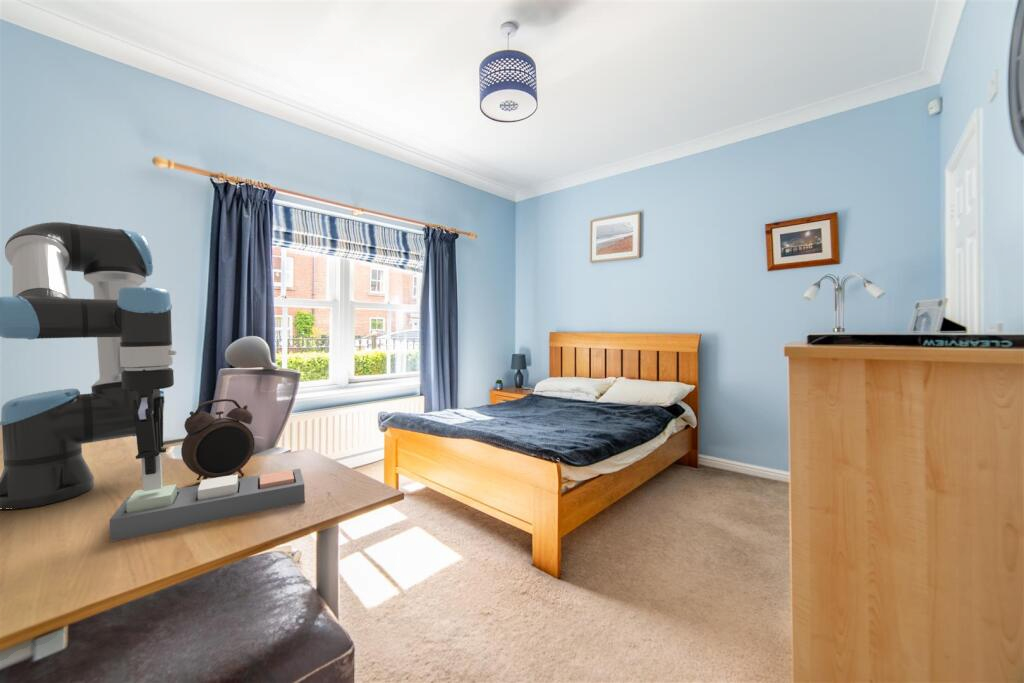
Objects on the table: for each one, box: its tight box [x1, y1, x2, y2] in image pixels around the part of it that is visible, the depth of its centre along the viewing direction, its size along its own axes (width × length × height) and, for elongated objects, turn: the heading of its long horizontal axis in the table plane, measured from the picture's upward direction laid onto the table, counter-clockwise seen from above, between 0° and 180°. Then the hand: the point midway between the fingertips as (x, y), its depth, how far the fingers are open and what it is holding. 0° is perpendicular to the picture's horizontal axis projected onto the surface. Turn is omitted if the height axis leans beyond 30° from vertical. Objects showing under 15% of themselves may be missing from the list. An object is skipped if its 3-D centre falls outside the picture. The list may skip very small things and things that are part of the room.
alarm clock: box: [180, 398, 256, 481], centre depth 102 cm, size 15×7×20 cm, turn 143°
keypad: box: [109, 468, 306, 543], centre depth 86 cm, size 11×31×4 cm, turn 122°
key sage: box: [126, 483, 178, 513], centre depth 80 cm, size 6×6×3 cm
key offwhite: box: [198, 473, 239, 500], centre depth 86 cm, size 6×6×3 cm
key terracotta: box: [260, 469, 294, 489], centre depth 91 cm, size 6×6×3 cm
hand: (152, 488), depth 80 cm, fingers closed
